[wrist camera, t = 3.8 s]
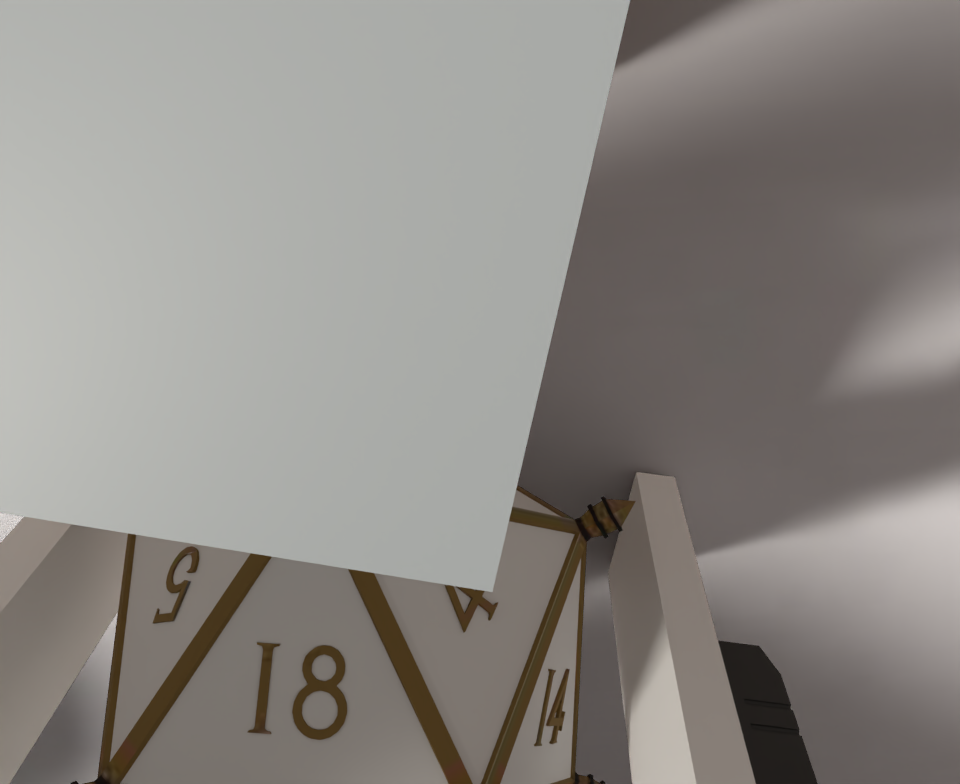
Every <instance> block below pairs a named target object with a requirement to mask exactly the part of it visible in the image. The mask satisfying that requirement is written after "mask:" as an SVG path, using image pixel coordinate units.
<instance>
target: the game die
mask: <svg viewBox="0 0 960 784" xmlns="http://www.w3.org/2000/svg"><path fill="white" fill-rule="evenodd" d="M601 499H602V501H601V502H600V503H598V504H596V505H595V506H592V505H591V504H590V505H588V509H589V510H588V511H587V512H586V513H585V514H584V515H583V516H582V517H581V518H578V519H575V520H574V519H573V518H571V517H569V516H568V515H566V514H564V513H563V512H561V511H559V510H558V509H556V508H554V507H553V506H551V505H549V504H548V503H546V502H544V501H543V500H541V499H539V498H538V497H536V496H534V495H533V494H531V493H529V492H528V491H526V490H524V489H523V488H521V487H519V486H518V485H517V489H516V493H515V497H514V501H513V506H512V510H511V514H510V519H509V523H508V527H507V532H506V536H505V540H504V544H503V549H502V553H501V557H500V562H499V566H498V570H497V574H496V579H495V583H494V587H493V592H488V591H482V590H476V589H470V588H463V587H457V586H451V585H445V584H439V583H432V582H426V581H420V580H414V579H408V578H402V577H395V576H389V575H383V574H377V573H371V572H364V571H358V570H352V569H346V568H340V567H333V566H327V565H321V564H315V563H309V562H302V561H296V560H290V559H284V558H278V557H271V556H265V555H259V554H253V553H247V552H240V551H234V550H228V549H222V548H216V547H209V546H203V545H197V544H191V543H185V542H178V541H172V540H166V539H160V538H154V537H147V536H141V535H135V534H129V533H128V536H127V544H126V552H125V560H124V568H123V576H122V584H121V592H120V600H119V609H118V617H117V625H116V633H115V641H114V649H113V657H112V665H111V673H110V681H109V689H108V697H107V705H106V714H105V722H104V730H103V738H102V746H101V754H100V762H99V770H98V778H97V779H96V780H95V781H94V782H89V783H84V784H605V782H604V781H601V782H600V783H599V782H597V781H595V780H593V775H591V774H589V775H588V776H587V777H586V776H582V775H578V774H577V773H576V772H575V763H576V743H577V724H578V704H579V684H580V665H581V645H582V626H583V606H584V587H585V567H586V547H587V541H588V540H589V539H590V538H591V537H597V536H604V538H607V537H608V533H610V532H612V531H614V530H617V529H618V530H619V532H621V531H623V530H622V527H621V526H622V525H623V523H624V521H625V519H626V518H627V516H628V514H629V512H630V511H631V509H632V507H633V505H634V504H635V502H636V501H628V500H611V499H606V498H605V497H604V496H603V497H601ZM71 784H78V782H77V781H74V782H72V783H71Z"/></svg>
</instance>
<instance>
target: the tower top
mask: <svg viewBox="0 0 960 784" xmlns="http://www.w3.org/2000/svg"><path fill="white" fill-rule="evenodd" d="M629 3H630V0H0V513H5V514H11V515H17V516H23V517H30V518H36V519H42V520H48V521H54V522H61V523H67V524H73V525H79V526H85V527H92V528H98V529H104V530H110V531H116V532H123V533H129V534H135V535H141V536H147V537H154V538H160V539H166V540H172V541H178V542H185V543H191V544H197V545H203V546H209V547H216V548H222V549H228V550H234V551H240V552H247V553H253V554H259V555H265V556H271V557H278V558H284V559H290V560H296V561H302V562H309V563H315V564H321V565H327V566H333V567H340V568H346V569H352V570H358V571H364V572H371V573H377V574H383V575H389V576H395V577H402V578H408V579H414V580H420V581H426V582H432V583H439V584H445V585H451V586H457V587H463V588H470V589H476V590H482V591H488V592H493V587H494V583H495V579H496V574H497V570H498V566H499V562H500V557H501V553H502V549H503V544H504V540H505V536H506V532H507V527H508V523H509V519H510V514H511V510H512V506H513V501H514V497H515V493H516V489H517V484H518V480H519V476H520V471H521V467H522V463H523V459H524V454H525V450H526V446H527V441H528V437H529V433H530V428H531V424H532V420H533V416H534V411H535V407H536V403H537V398H538V394H539V390H540V386H541V381H542V377H543V373H544V368H545V364H546V360H547V355H548V351H549V347H550V343H551V338H552V334H553V330H554V325H555V321H556V317H557V313H558V308H559V304H560V300H561V295H562V291H563V287H564V283H565V278H566V274H567V270H568V265H569V261H570V257H571V252H572V248H573V244H574V240H575V235H576V231H577V227H578V222H579V218H580V214H581V210H582V205H583V201H584V197H585V192H586V188H587V184H588V179H589V175H590V171H591V167H592V162H593V158H594V154H595V149H596V145H597V141H598V137H599V132H600V128H601V124H602V119H603V115H604V111H605V106H606V102H607V98H608V94H609V89H610V85H611V81H612V76H613V72H614V68H615V64H616V59H617V55H618V51H619V46H620V42H621V38H622V34H623V29H624V25H625V21H626V16H627V12H628V8H629Z"/></svg>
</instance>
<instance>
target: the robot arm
mask: <svg viewBox="0 0 960 784" xmlns="http://www.w3.org/2000/svg"><path fill="white" fill-rule="evenodd" d="M628 501H636V502H635V504H634V505H633V507H632V509H631V511H630V512H629V514H628V516H627V518H626V519H625V521H624V523H623V525H622V526H621V527H622V530H623V531H621V532H619V535H618V539H617V543H616V546H615V550H614V553H613V557H612V561H611V564H610V568H609V571H608V579H609V587H610V596H611V604H612V613H613V622H614V630H615V639H616V647H617V656H618V665H619V673H620V682H621V690H622V699H623V708H624V716H625V725H626V733H627V742H628V751H629V759H630V768H631V776H632V784H818V783H817V780H816V778H815V775H814V772H813V769H812V766H811V763H810V760H809V757H808V754H807V751H806V748H805V745H804V742H803V739H802V736H799V727H798V724H797V721H796V718H795V715H794V713H793V711H792V710H791V709H790V706H791V704H790V701H789V698H788V695H787V692H786V689H785V686H784V683H783V680H782V677H781V674H780V673H779V672H778V670H777V669H776V668H775V666H774V665H773V664H772V662H771V661H770V660H769V658H768V657H767V656H766V655H765V653H764V652H763V651H762V649H761V648H760V647H759V646H754V645H747V644H739V643H731V642H724V641H718V639H717V635H716V631H715V627H714V624H713V620H712V616H711V612H710V608H709V605H708V601H707V597H706V593H705V590H704V586H703V582H702V578H701V574H700V571H699V567H698V563H697V559H696V556H695V552H694V548H693V544H692V540H691V537H690V533H689V529H688V525H687V521H686V518H685V514H684V510H683V506H682V503H681V499H680V495H679V491H678V487H677V484H676V480H675V477H671V476H663V475H656V474H648V473H640V472H636V474H635V478H634V482H633V485H632V489H631V492H630V496H629V500H628ZM127 536H128V533H123V532H116V531H110V530H104V529H98V528H92V527H85V526H79V525H73V524H67V523H61V522H54V521H48V520H42V519H36V518H30V517H24V518H23V519H22V520H21V521H20V522H19V523H18V524H17V526H16V527H15V528H14V529H13V530H12V531H11V532H10V533H9V534H8V536H7V537H6V538H5V539H4V540H3V541H2V542H1V543H0V784H10V782H11V781H12V779H13V777H14V776H15V774H16V773H17V771H18V769H19V768H20V766H21V765H22V763H23V761H24V760H25V758H26V757H27V755H28V753H29V752H30V750H31V749H32V747H33V746H34V744H35V742H36V741H37V739H38V738H39V736H40V734H41V733H42V731H43V730H44V728H45V726H46V725H47V723H48V722H49V720H50V719H51V717H52V715H53V714H54V712H55V711H56V709H57V707H58V706H59V704H60V703H61V701H62V699H63V698H64V696H65V695H66V693H67V691H68V690H69V688H70V687H71V685H72V684H73V682H74V680H75V679H76V677H77V676H78V674H79V672H80V671H81V669H82V668H83V666H84V664H85V663H86V661H87V660H88V658H89V657H90V655H91V653H92V652H93V650H94V649H95V647H96V645H97V644H98V642H99V641H100V639H101V637H102V636H103V634H104V633H105V631H106V630H107V628H108V626H109V625H110V623H111V622H112V620H113V618H114V617H115V615H116V614H117V612H118V609H119V600H120V592H121V584H122V576H123V568H124V560H125V552H126V544H127Z"/></svg>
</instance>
